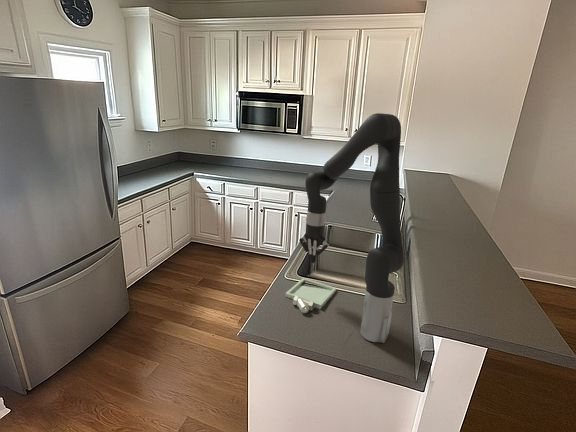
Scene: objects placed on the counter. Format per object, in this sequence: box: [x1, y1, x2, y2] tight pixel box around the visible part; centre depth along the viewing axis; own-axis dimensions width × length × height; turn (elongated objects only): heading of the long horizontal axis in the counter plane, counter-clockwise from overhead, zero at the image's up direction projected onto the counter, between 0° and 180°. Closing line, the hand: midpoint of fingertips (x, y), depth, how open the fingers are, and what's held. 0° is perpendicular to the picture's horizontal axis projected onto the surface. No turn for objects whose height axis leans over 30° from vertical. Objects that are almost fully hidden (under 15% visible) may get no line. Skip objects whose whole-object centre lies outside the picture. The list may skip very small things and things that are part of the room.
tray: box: [285, 277, 337, 310], centre depth 142 cm, size 16×16×2 cm
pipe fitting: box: [292, 296, 315, 314], centre depth 131 cm, size 8×4×7 cm
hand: (312, 262), depth 137 cm, fingers closed
